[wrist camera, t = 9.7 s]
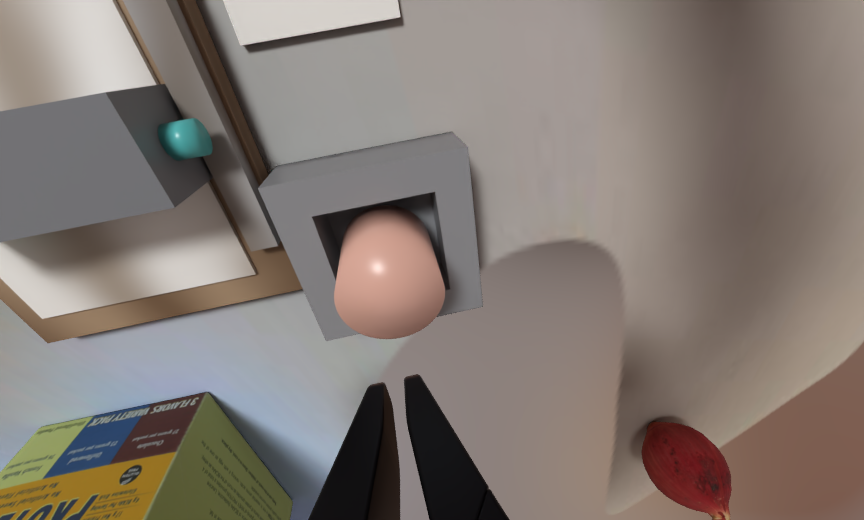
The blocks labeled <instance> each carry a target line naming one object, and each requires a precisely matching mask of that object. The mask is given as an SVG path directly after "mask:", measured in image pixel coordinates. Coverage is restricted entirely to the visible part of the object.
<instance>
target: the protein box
mask: <svg viewBox="0 0 864 520" xmlns="http://www.w3.org/2000/svg"><path fill="white" fill-rule="evenodd" d="M292 505H293V501H292V500H291V499H290V497H289V496H288V495H287V494H286V492H285V491H284V490H283V489H282V487H281V486H280V485H279V483H278V482H277V481H276V479H275V478H274V477H273V476H272V474H271V473H270V472H269V470H268V469H267V468H266V466H265V465H264V464H263V463H262V461H261V460H260V459H259V458H258V456H257V455H256V453H255V452H254V451H253V450H252V448H251V447H250V446H249V444H248V443H247V442H246V441H245V439H244V438H243V437H242V436H241V434H240V433H239V432H238V430H237V429H236V428H235V426H234V425H233V424H232V423H231V421H230V420H229V419H228V417H227V416H226V415H225V414H224V412H223V411H222V410H221V408H220V407H219V406H218V404H217V403H216V402H215V401H214V399H213V398H212V397H211V395H210V394H209V393H207V392H205V393H200V394H196V395H191V396H187V397H182V398H177V399H173V400H168V401H163V402H158V403H154V404H148V405H143V406H139V407H134V408H129V409H125V410H120V411H115V412H110V413H106V414H101V415H96V416H92V417H87V418H82V419H77V420H73V421H68V422H63V423H58V424H53V425H48V426H43V427H41V428H39V429H38V430H37V431H36V433H35V434H34V435H33V436H32V437H31V438H30V439H29V441H28V442H27V443H26V444H25V445H24V446H23V447H22V449H21V450H20V451H19V452H18V453H17V454H16V455H15V456H14V458H13V459H12V460H11V461H10V462H9V463H8V464H7V465H6V466H5V468H4V469H3V470H2V471H1V472H0V520H290V516H291V510H292Z"/></svg>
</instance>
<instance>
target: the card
mask: <svg viewBox="0 0 864 520" xmlns="http://www.w3.org/2000/svg"><path fill="white" fill-rule="evenodd" d="M223 1H224V4H225V6H226V9H227V12H228V14H229V17H230V19H231V22H232V25H233V27H234V30H235V32H236V35H237V38H238V40H239V43H240V45H241V46H244V45H250V44H255V43H261V42H266V41H272V40H278V39H283V38H289V37H295V36H300V35H306V34H312V33H317V32H323V31H328V30H334V29H340V28H345V27H351V26H357V25H362V24H368V23H374V22H379V21H385V20H390V19H396V18H400V11H399V5H398V0H223Z"/></svg>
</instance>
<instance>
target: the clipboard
mask: <svg viewBox="0 0 864 520" xmlns="http://www.w3.org/2000/svg"><path fill="white" fill-rule="evenodd" d="M159 84H166V86H167V88H168V90H169V92H170V94H171V96H172V98H173V100H174V102H175V104H176V105H177V107H178V109H179V111H180V113H181V115H182V117H183V119H184V120H185V119H191V118H196V119H198V120H199V121H200V122H201V123H202V124H203V125H204V126H205V128H206V129H207V131H208V133H209V135H210V138H211V141H212V146H213V150H212V153H211V154H210V155H206V156H203V158H204V160H205V162H206V164H207V166H208V168H209V170H210V172H211V174H212V176H213V178H212V179H211V180H210V181H208V182H207V183H206V184H205V185H203V186H202V187H201V188H199V189H198V190H197V191H196V192H194V193H193V194H192V195H191V196H189V197H188V198H187V199H185V200H184V201H183V202H182V203H180V204H179V205H178V206H176V207H175V208H171V209H166V210H161V211H156V212H151V213H146V214H141V215H136V216H130V217H125V218H120V219H115V220H110V221H105V222H100V223H95V224H90V225H85V226H80V227H75V228H70V229H65V230H60V231H55V232H50V233H45V234H40V235H35V236H30V237H25V238H20V239H15V240H9V241H4V242H0V299H1V300H2V301H3V302H4V303H5V304H6V305H7V306H9V307H10V308H11V309H12V310H13V311H14V312H15V313H16V314H17V315H18V316H19V317H20V318H21V319H22V320H23V321H24V322H26V323H27V324H28V325H29V326H30V327H31V328H32V329H33V330H34V331H35V332H36V333H37V334H38V335H39V336H40V337H42V338H43V339H44V340H45V341H46V342H47V343H51V342H55V341H60V340H65V339H69V338H74V337H79V336H84V335H88V334H93V333H98V332H102V331H107V330H112V329H117V328H121V327H126V326H131V325H135V324H140V323H145V322H150V321H154V320H159V319H164V318H169V317H173V316H178V315H183V314H187V313H192V312H197V311H202V310H206V309H211V308H216V307H220V306H225V305H230V304H235V303H239V302H244V301H249V300H253V299H258V298H263V297H268V296H272V295H277V294H282V293H286V292H291V291H296V290H301V289H303V288H302V286H301V284H300V282H299V279H298V277H297V275H296V273H295V270H294V268H293V266H292V264H291V261H290V259H289V257H288V255H287V253H286V250H285V248H284V246H283V244H282V241H281V239H280V237H279V235H278V232H277V230H276V228H275V226H274V223H273V221H272V219H271V217H270V215H269V212H268V210H267V208H266V206H265V203H264V201H263V199H262V197H261V194H260V192H259V190H258V187H259V186H260V185H261V184H262V183H263V182H264V180H265V179H266V178H267V177H268V176H269V175H268V172H267V170H266V168H265V165H264V163H263V160H262V158H261V156H260V153H259V151H258V148H257V146H256V144H255V141H254V139H253V137H252V134H251V132H250V129H249V127H248V125H247V122H246V120H245V118H244V115H243V113H242V110H241V108H240V106H239V103H238V101H237V98H236V96H235V94H234V91H233V89H232V87H231V84H230V82H229V79H228V77H227V75H226V72H225V70H224V68H223V65H222V63H221V60H220V58H219V56H218V53H217V51H216V48H215V46H214V44H213V41H212V39H211V37H210V34H209V32H208V29H207V27H206V25H205V22H204V20H203V18H202V15H201V13H200V10H199V8H198V6H197V3H196V1H195V0H0V111H5V110H11V109H16V108H22V107H27V106H33V105H38V104H44V103H49V102H55V101H60V100H66V99H71V98H77V97H82V96H88V95H93V94H99V93H104V92H111V91H118V90H125V89H132V88H139V87H145V86H152V85H159Z"/></svg>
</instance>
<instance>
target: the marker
mask: <svg viewBox="0 0 864 520" xmlns="http://www.w3.org/2000/svg"><path fill="white" fill-rule="evenodd" d="M212 150H213V146H212V141H211V138H210V135H209V133H208V131H207V129H206V128H205V126H204V125H203V124H202V123H201V122H200V121H199V120H198V119H196V118H191V119H185V120H184V119H183V117H182V115H181V113H180V111H179V109H178V107H177V105H176V104H175V102H174V100H173V98H172V96H171V94H170V92H169V90H168V88H167V86H166V84H159V85H152V86H145V87H139V88H132V89H125V90H118V91H111V92H104V93H99V94H93V95H88V96H82V97H77V98H71V99H66V100H60V101H55V102H49V103H44V104H38V105H33V106H27V107H22V108H16V109H11V110H5V111H0V242H4V241H9V240H15V239H20V238H25V237H30V236H35V235H40V234H45V233H50V232H55V231H60V230H65V229H70V228H75V227H80V226H85V225H90V224H95V223H100V222H105V221H110V220H115V219H120V218H125V217H130V216H136V215H141V214H146V213H151V212H156V211H161V210H166V209H171V208H175V207H176V206H178V205H179V204H180V203H182V202H183V201H184V200H185V199H187V198H188V197H189V196H191V195H192V194H193V193H194V192H196V191H197V190H198V189H199V188H201V187H202V186H203V185H205V184H206V183H207V182H208V181H210V180H211V179H212V178H213V176H212V174H211V172H210V170H209V168H208V166H207V164H206V162H205V160H204V158H203V156H206V155H210V154H211V153H212Z"/></svg>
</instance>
